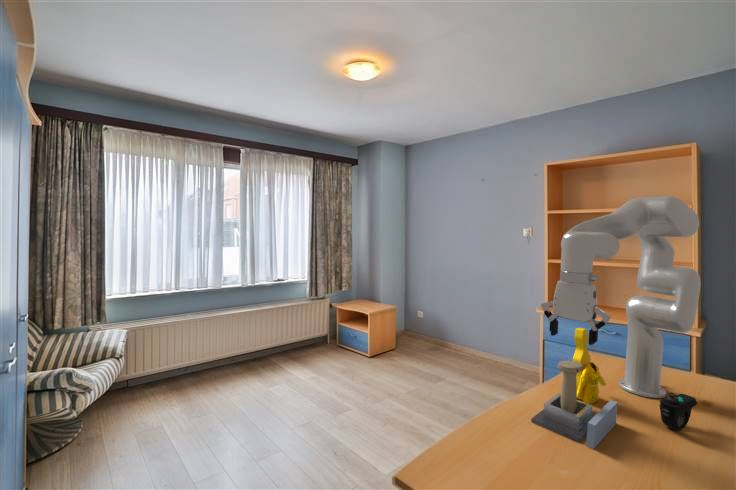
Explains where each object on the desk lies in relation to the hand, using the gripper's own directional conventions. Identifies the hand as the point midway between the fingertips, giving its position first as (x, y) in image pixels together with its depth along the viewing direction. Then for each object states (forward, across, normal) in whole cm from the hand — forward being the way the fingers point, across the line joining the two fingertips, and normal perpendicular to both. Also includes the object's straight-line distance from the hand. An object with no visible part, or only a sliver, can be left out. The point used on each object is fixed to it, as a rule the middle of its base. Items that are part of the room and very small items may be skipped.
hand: (572, 339), depth 99 cm
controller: (+24, -20, -20) cm, 37 cm away
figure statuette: (+24, +2, -18) cm, 30 cm away
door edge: (+23, -8, 0) cm, 25 cm away
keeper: (+23, 0, 0) cm, 23 cm away
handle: (+22, 0, 0) cm, 22 cm away
